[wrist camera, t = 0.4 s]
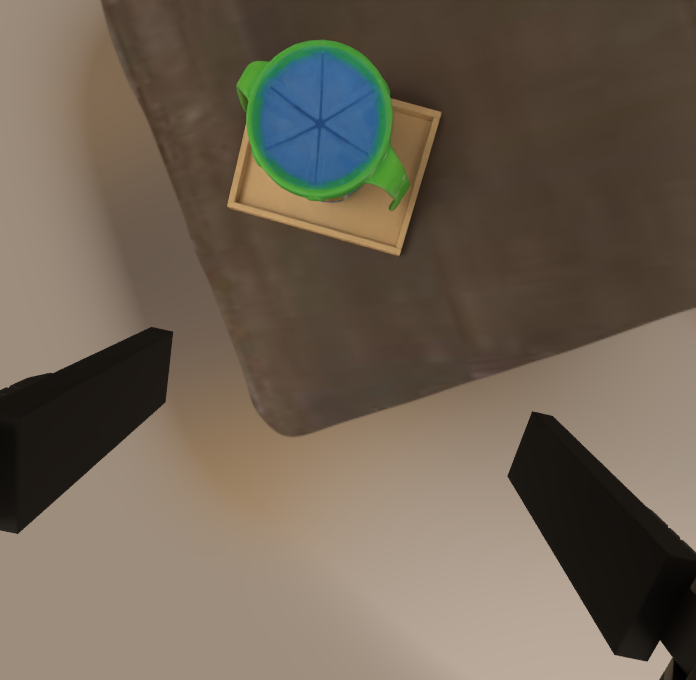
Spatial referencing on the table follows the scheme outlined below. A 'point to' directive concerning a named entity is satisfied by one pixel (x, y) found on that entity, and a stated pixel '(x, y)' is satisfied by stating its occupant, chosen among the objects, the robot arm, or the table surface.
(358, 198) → the tray
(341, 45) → the snack cup
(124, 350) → the robot arm
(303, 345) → the table surface
